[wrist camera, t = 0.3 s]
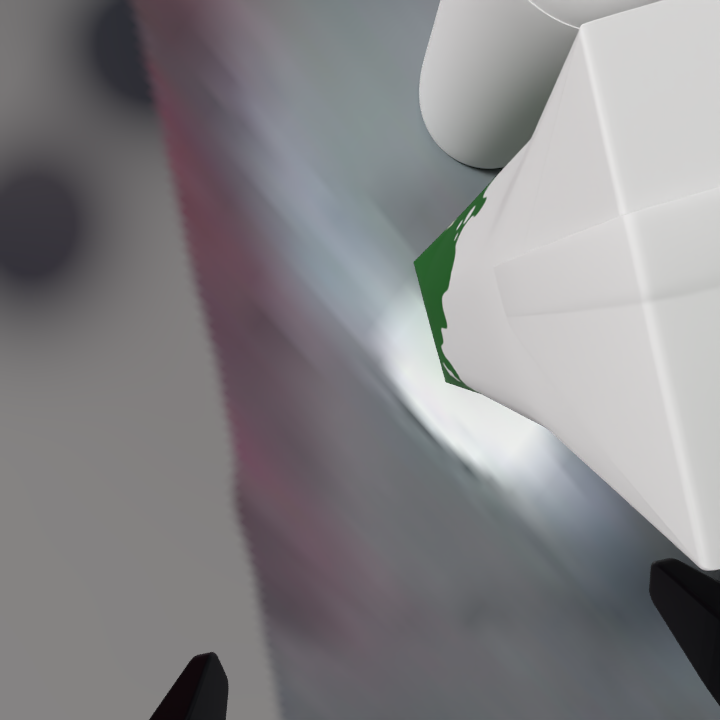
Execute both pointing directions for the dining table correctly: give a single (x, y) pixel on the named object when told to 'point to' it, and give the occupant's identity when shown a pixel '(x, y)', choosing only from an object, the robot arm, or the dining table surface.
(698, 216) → the milk carton
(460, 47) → the pill bottle
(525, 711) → the dining table surface
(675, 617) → the robot arm
